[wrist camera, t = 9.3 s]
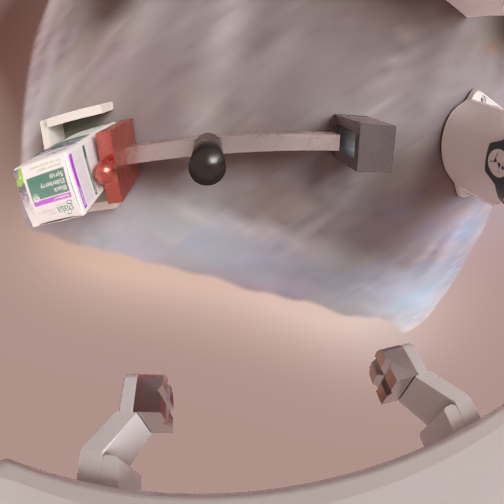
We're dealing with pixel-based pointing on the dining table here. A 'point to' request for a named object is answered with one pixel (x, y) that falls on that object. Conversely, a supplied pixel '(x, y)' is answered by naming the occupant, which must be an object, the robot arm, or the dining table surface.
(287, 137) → the linear slider rail
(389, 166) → the grey hollow block
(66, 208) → the syrup box
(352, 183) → the dining table surface
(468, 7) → the milk
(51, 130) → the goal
